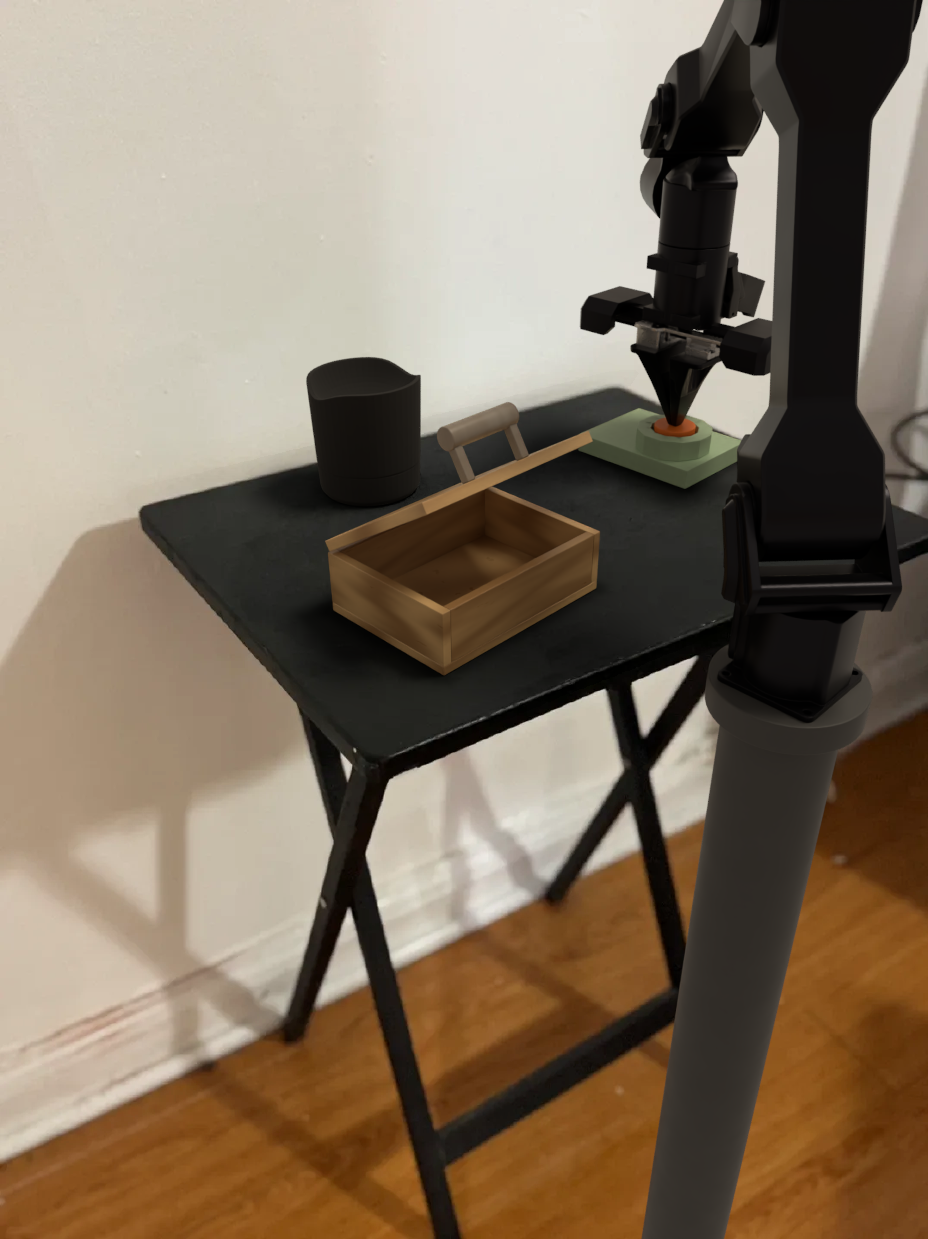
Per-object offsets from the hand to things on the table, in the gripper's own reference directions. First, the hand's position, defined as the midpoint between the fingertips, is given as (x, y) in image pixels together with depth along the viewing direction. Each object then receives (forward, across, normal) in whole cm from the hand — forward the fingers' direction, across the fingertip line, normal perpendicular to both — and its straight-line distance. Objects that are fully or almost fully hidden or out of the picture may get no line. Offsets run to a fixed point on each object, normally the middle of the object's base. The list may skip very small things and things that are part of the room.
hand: (675, 424), depth 92 cm
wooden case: (+4, -4, +30) cm, 30 cm away
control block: (+4, +2, -1) cm, 4 cm away
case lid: (-4, -3, +29) cm, 30 cm away
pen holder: (+4, +16, +22) cm, 27 cm away
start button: (+2, 0, 0) cm, 2 cm away
